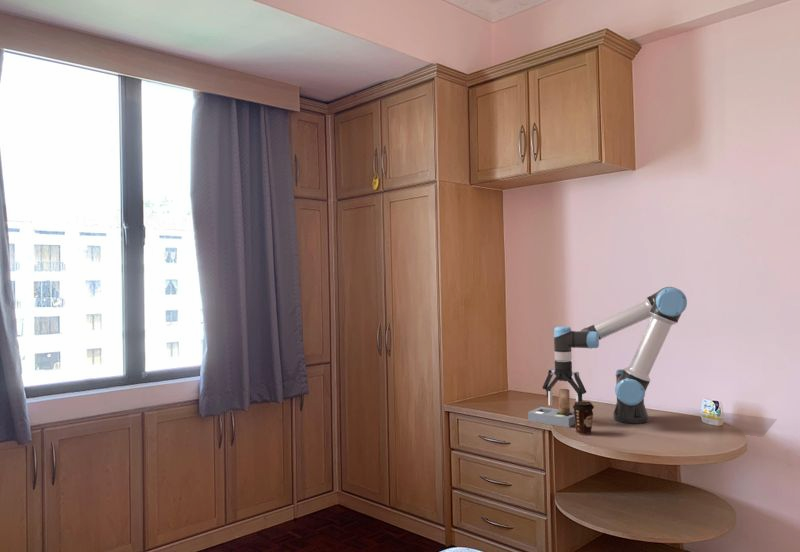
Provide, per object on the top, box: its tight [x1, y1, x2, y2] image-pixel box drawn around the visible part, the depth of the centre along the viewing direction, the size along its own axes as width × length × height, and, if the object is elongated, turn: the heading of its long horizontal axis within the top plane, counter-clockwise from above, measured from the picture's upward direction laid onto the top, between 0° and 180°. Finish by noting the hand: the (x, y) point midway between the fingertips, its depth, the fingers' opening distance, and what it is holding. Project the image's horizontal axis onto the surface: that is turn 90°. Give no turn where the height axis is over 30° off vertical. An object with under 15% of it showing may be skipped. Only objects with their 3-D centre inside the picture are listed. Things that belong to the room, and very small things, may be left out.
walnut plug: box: [558, 388, 571, 416], centre depth 264 cm, size 5×5×15 cm
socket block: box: [527, 406, 576, 428], centre depth 267 cm, size 13×20×4 cm, turn 49°
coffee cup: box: [572, 400, 595, 436], centre depth 246 cm, size 9×8×13 cm
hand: (564, 406), depth 264 cm, fingers open, 13 cm apart
